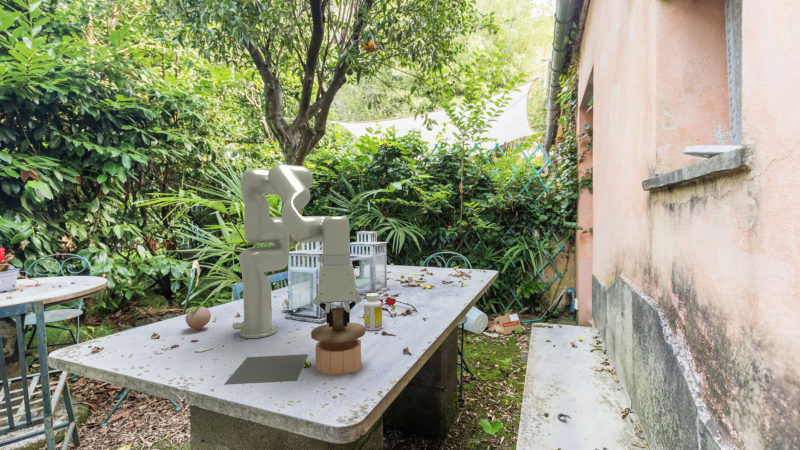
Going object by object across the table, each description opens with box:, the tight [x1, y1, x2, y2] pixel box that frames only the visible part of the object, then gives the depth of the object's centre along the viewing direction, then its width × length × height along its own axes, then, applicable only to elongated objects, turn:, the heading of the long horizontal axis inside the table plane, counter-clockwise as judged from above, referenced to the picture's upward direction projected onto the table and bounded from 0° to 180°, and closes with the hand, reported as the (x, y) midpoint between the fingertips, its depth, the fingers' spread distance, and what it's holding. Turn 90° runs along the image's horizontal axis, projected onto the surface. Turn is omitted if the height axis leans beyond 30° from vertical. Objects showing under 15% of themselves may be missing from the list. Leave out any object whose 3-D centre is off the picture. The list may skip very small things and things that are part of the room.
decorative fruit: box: [185, 303, 212, 331], centre depth 141 cm, size 9×8×10 cm
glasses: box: [378, 296, 418, 318], centre depth 164 cm, size 14×16×5 cm
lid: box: [310, 306, 366, 343], centre depth 104 cm, size 15×15×7 cm
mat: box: [223, 353, 309, 386], centre depth 103 cm, size 18×18×1 cm
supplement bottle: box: [363, 292, 383, 332], centre depth 139 cm, size 7×7×13 cm
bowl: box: [314, 338, 362, 375], centre depth 105 cm, size 12×12×6 cm
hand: (338, 324), depth 104 cm, fingers closed on lid, 3 cm apart
